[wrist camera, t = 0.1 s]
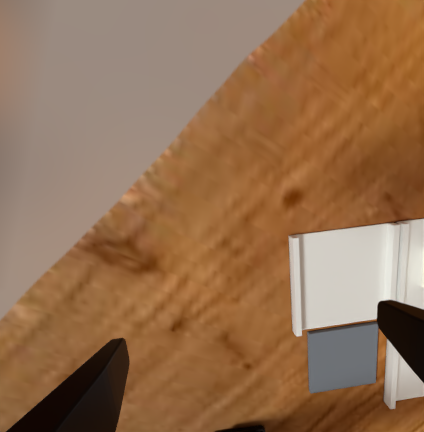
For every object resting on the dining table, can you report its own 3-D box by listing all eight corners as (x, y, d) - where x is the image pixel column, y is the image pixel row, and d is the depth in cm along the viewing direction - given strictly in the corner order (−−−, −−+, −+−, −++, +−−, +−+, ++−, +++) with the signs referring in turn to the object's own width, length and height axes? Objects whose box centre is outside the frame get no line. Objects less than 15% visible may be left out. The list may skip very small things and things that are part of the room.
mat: (373, 379, 27) (375, 382, 27) (308, 390, 27) (310, 393, 26) (375, 321, 26) (378, 323, 25) (307, 331, 25) (309, 334, 25)
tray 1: (386, 316, 26) (394, 321, 25) (292, 330, 25) (296, 336, 24) (391, 222, 23) (400, 224, 22) (288, 235, 23) (292, 238, 22)
